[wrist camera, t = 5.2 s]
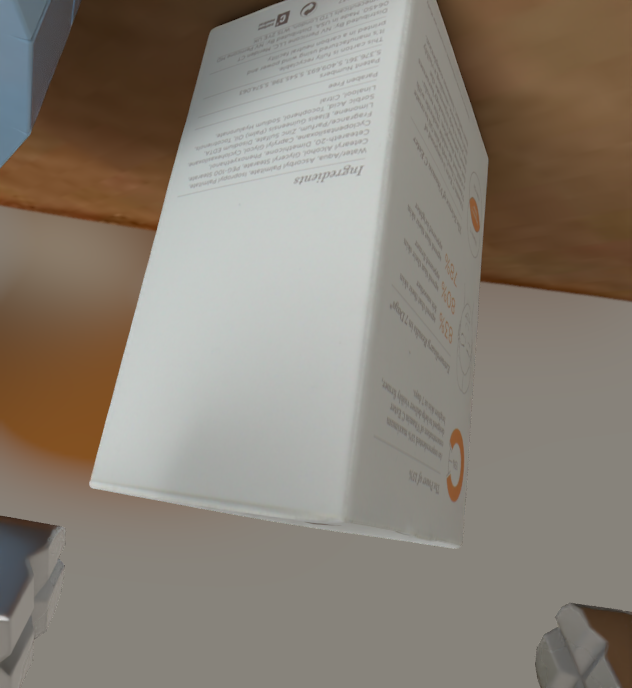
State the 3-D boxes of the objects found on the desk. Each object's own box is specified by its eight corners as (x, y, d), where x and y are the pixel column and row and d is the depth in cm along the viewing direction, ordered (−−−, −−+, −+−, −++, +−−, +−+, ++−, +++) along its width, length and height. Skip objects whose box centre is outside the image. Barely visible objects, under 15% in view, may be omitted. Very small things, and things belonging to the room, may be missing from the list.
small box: (206, 23, 16) (74, 489, 12) (422, -61, 13) (348, 530, 9) (330, 188, 22) (274, 523, 18) (492, 159, 19) (470, 553, 15)
